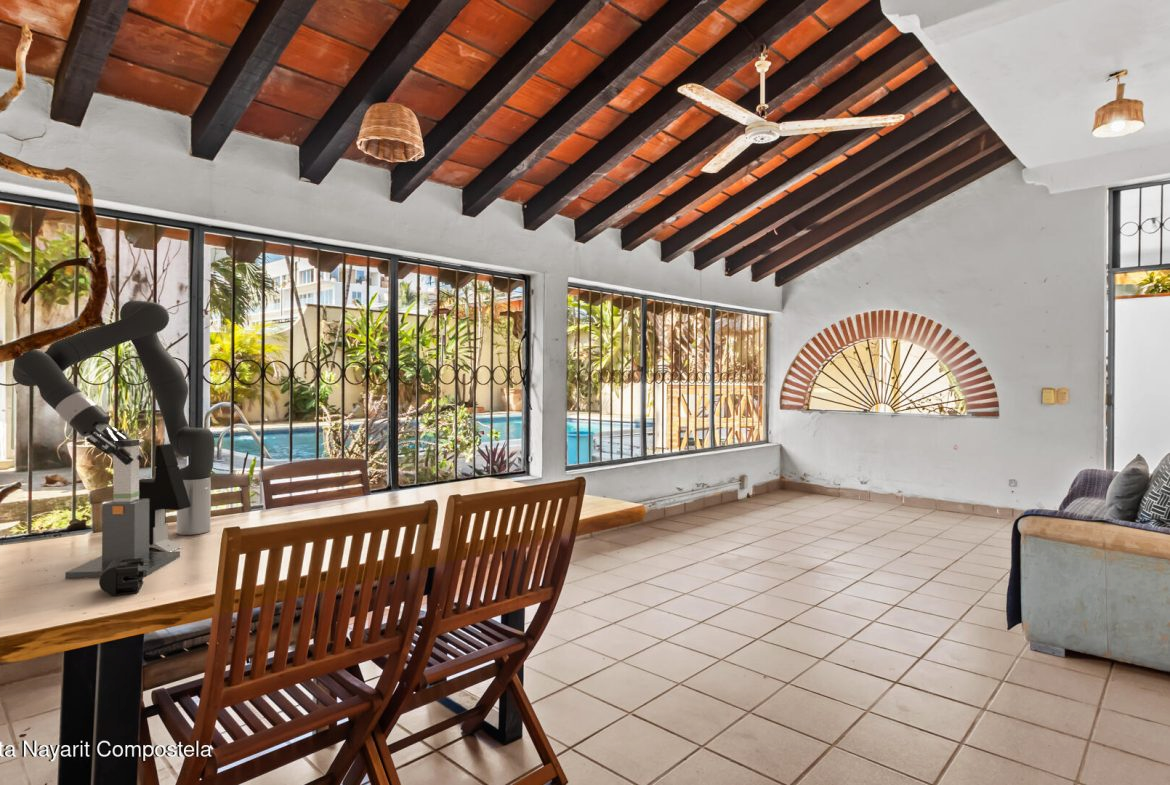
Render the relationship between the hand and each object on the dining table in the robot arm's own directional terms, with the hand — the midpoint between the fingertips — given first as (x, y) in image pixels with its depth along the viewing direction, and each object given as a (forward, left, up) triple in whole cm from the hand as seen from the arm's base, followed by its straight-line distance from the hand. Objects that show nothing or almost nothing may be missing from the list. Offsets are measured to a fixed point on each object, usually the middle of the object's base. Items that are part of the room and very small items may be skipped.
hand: (134, 461), depth 168 cm
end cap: (+20, +7, -28) cm, 35 cm away
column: (0, -2, -20) cm, 20 cm away
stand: (0, -2, -27) cm, 27 cm away
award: (-18, -2, -28) cm, 33 cm away
